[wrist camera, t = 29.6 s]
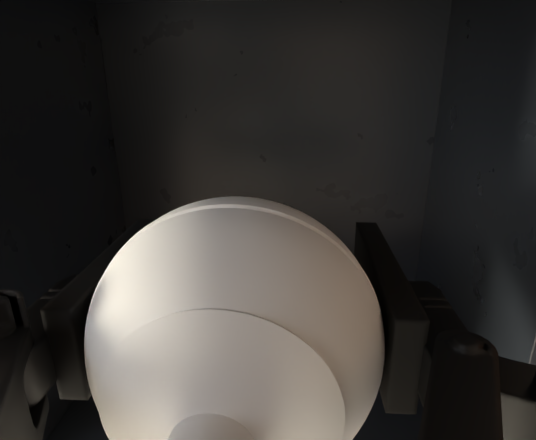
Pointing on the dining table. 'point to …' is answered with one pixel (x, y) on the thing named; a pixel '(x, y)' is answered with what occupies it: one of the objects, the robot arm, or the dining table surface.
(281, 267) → the spinning top
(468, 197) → the dark grey square box
